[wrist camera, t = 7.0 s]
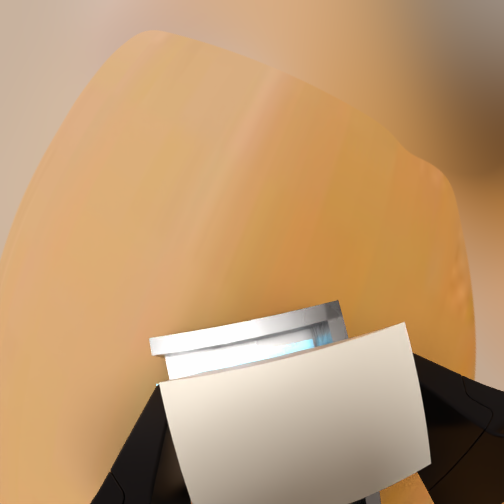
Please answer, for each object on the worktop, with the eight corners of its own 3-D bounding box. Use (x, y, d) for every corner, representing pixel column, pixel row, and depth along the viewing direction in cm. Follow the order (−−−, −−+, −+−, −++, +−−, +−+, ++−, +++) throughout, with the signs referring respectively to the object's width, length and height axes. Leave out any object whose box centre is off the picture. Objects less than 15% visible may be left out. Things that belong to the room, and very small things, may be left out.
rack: (365, 560, 11) (394, 591, 6) (233, 594, 10) (235, 634, 5) (315, 314, 18) (345, 295, 13) (155, 346, 16) (128, 338, 12)
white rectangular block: (309, 410, 15) (431, 463, 4) (219, 431, 14) (205, 537, 4) (295, 351, 16) (404, 321, 6) (204, 371, 15) (159, 382, 5)
